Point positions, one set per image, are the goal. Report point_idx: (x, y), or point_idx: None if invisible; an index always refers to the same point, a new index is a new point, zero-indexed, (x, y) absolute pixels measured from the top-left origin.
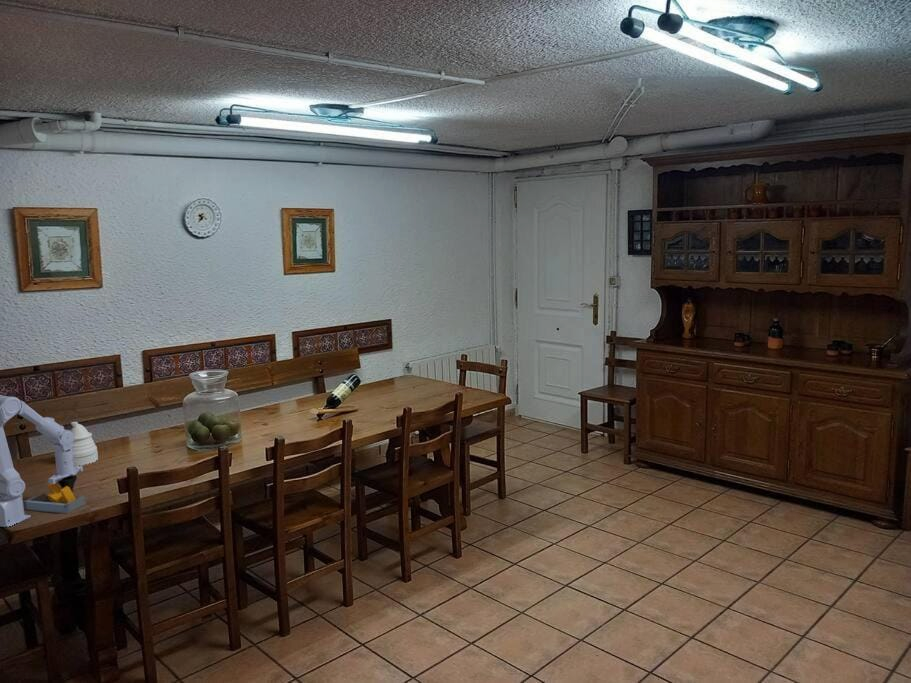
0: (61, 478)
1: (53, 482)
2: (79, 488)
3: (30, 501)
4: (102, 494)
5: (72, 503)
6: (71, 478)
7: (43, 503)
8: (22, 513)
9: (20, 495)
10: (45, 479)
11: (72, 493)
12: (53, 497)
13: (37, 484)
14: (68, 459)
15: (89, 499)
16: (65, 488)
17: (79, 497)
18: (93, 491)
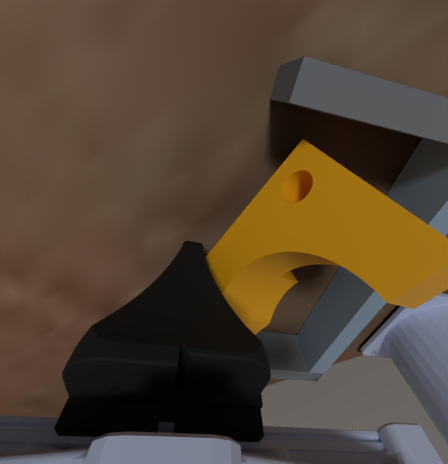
0: (267, 447)
1: (436, 453)
2: (19, 273)
3: (324, 363)
4: (34, 15)
5: None
6: (176, 369)
7: (382, 306)
8: None
9: None
10: (11, 406)
11: (367, 184)
12: (270, 307)
13: (61, 404)
14: None
15: (176, 91)
16: (443, 278)
17: (337, 104)
18: (15, 160)
